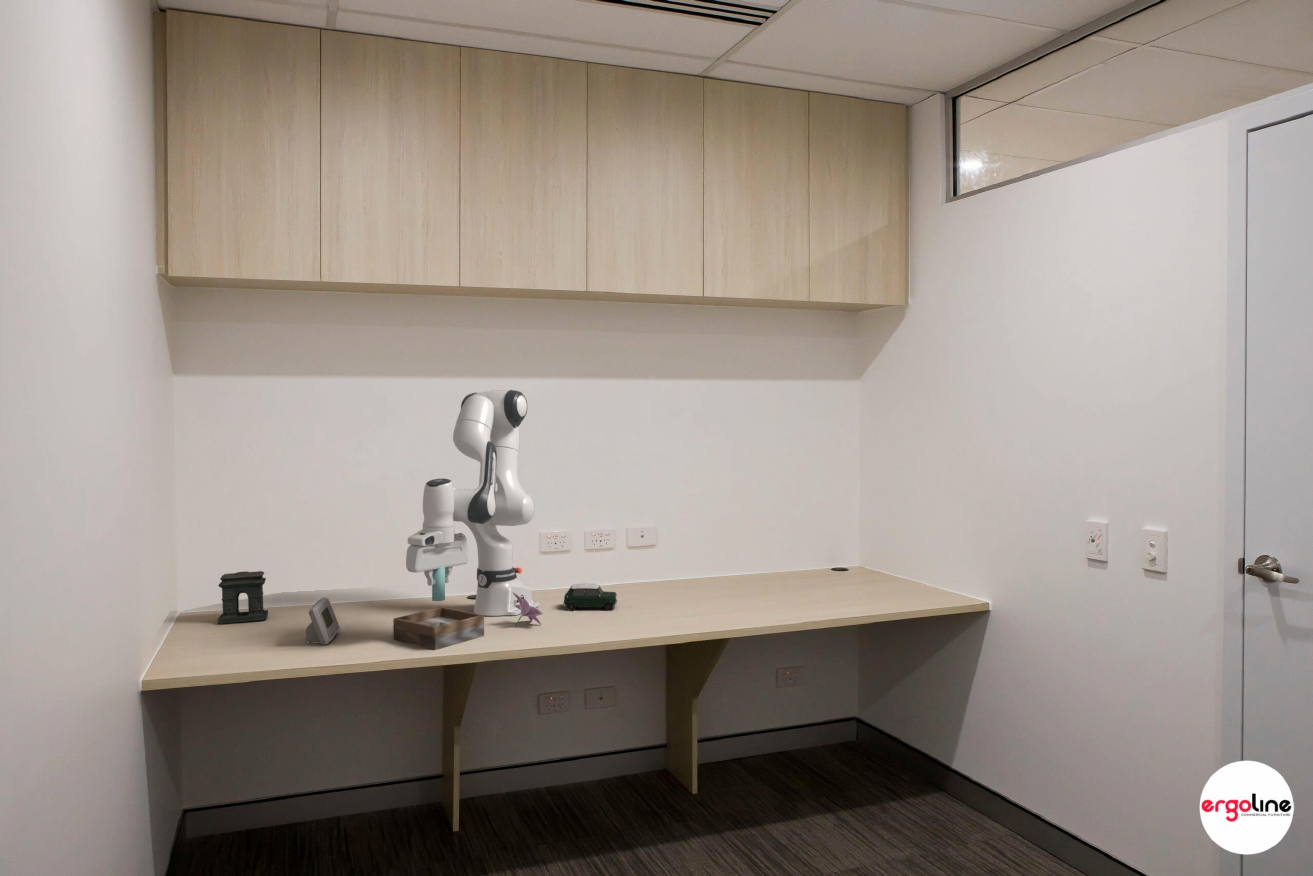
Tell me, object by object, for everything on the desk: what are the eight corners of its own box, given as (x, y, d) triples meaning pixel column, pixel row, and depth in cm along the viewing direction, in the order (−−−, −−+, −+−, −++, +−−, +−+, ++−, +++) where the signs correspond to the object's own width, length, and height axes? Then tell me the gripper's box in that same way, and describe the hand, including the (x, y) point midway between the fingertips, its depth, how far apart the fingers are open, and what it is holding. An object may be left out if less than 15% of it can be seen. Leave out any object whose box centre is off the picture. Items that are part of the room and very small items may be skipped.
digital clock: (327, 647, 240) (326, 608, 240) (295, 646, 241) (294, 608, 240) (350, 631, 256) (349, 595, 256) (320, 631, 257) (319, 595, 256)
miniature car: (617, 611, 283) (617, 587, 283) (562, 611, 283) (562, 587, 282) (618, 605, 292) (618, 581, 292) (564, 605, 292) (564, 581, 291)
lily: (541, 634, 258) (552, 603, 261) (504, 621, 255) (516, 590, 259) (533, 637, 269) (544, 607, 272) (498, 624, 266) (509, 594, 270)
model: (268, 614, 276) (267, 568, 276) (267, 621, 268) (266, 573, 267) (220, 618, 271) (219, 571, 271) (217, 625, 263) (216, 576, 262)
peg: (439, 598, 251) (439, 563, 251) (447, 599, 249) (447, 565, 249) (429, 600, 249) (429, 565, 248) (437, 601, 246) (437, 566, 246)
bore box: (442, 626, 262) (442, 606, 262) (484, 635, 252) (484, 615, 252) (393, 639, 248) (393, 618, 247) (435, 649, 237) (435, 628, 237)
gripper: (458, 531, 259) (458, 577, 259) (402, 538, 242) (402, 588, 243) (473, 533, 255) (473, 579, 256) (417, 540, 239) (417, 590, 239)
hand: (438, 583), depth 249 cm, fingers closed on peg, 4 cm apart
